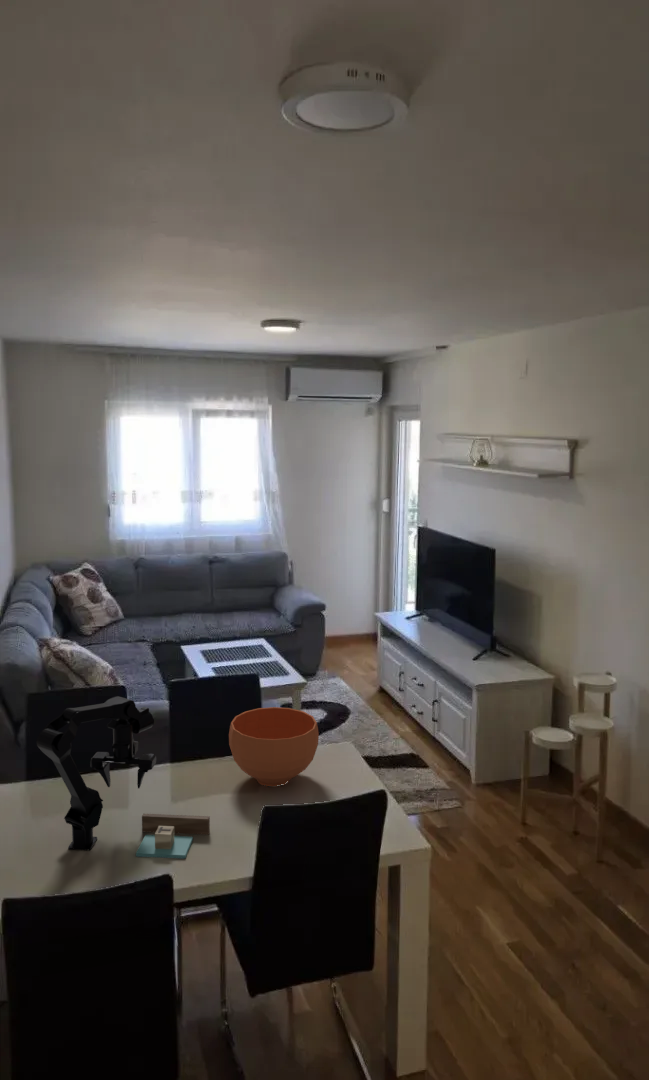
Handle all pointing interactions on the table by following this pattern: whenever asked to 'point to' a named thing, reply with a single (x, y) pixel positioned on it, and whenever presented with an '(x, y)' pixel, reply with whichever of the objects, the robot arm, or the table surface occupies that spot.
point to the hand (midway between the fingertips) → (124, 787)
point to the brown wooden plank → (177, 823)
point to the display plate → (177, 850)
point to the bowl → (273, 743)
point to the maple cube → (164, 837)
